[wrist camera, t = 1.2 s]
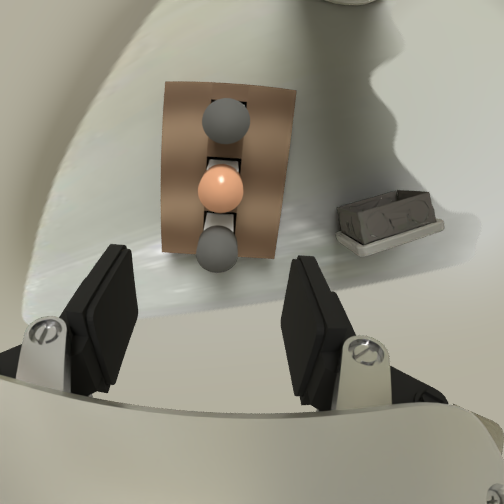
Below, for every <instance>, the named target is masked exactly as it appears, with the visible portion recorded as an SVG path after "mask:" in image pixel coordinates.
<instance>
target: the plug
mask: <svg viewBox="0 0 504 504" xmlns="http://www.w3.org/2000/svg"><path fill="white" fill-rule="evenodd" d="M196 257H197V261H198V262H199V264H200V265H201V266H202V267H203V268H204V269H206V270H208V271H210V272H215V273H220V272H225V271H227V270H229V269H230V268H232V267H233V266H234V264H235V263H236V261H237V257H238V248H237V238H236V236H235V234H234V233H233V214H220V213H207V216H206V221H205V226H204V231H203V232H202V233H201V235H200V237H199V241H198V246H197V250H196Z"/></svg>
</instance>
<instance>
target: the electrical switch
mask: <svg viewBox="0 0 504 504" xmlns="http://www.w3.org/2000/svg"><path fill="white" fill-rule="evenodd" d="M397 193H398V195H397ZM381 198H382V199H381ZM398 198H399V199H398ZM391 200H392V201H391ZM377 205H378V206H377ZM356 206H359V207H356ZM350 207H351V208H350ZM362 209H363V210H364V211H363V210H362ZM337 211H338V214H339V222H340V225H341V230H342V231H338V232H337V233H335V234H336V237H337V240H338V241H339V242H340V243H341V244H343V245H344V246H346V247H347V248H348V249H350V250H351V251H352V252H354V253H355V254H357V255H358V256H368V255H371V254H374V253H377V252H381V251H384V250H387V249H390V248H393V247H396V246H399V245H402V244H405V243H408V242H411V241H414V240H417V239H420V238H423V237H425V236H428V235H431V234H434V233H437V232H440V231H443V230H444V221H443V220H441V219H436V218H435V213H434V209H433V206H432V203H431V198H430V194H429V192H421V191H404V190H397V191H393V192H389V193H386V194H382V195H379V196H375V197H372V198H368V199H365V200H361V201H358V202H354V203H351V204H347V205H344V206H340V207H337Z"/></svg>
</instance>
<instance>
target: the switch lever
mask: <svg viewBox="0 0 504 504" xmlns="http://www.w3.org/2000/svg"><path fill="white" fill-rule="evenodd" d="M202 126H203V129H204V132H205V133H206V135H207V136H208V137H209V138H210V139H211V140H213V141H215V142H217V143H220V144H231V143H235V142H237V141H239V140H240V139H242V138H243V137H244V136H245V134H246V133H247V131H248V129H249V126H250V115H249V112H248V110H247V109H246V107H245V105H243V104H242V103H241V102H239V101H237V100H235V99H231V98H222V99H218V100H216V101H214V102H212V103H211V104H210V105H209V106H208V107H207V108H206V110H205V111H204V114H203V117H202Z"/></svg>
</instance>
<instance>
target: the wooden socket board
mask: <svg viewBox="0 0 504 504" xmlns="http://www.w3.org/2000/svg"><path fill="white" fill-rule="evenodd" d="M222 98H231V99H235V100H237V101H239V102H245V107H246V109H247V110H248V112H249V115H250V126H249V129H248V131H247V133H246V134H245V136H244V137H243V138H242V139H240V140H239V141H237V142H235V143H231V144H220V143H217V142H215V141H213V140H211V139H210V138H209V137H208V136H207V135H206V133H205V132H204V129H203V126H202V117H203V114H204V111H205V110H206V108H207V107H208V106H209V105H210V104H211V103H212V102H214V100H218V99H222ZM295 99H296V90H289V89H282V88H274V87H265V86H256V85H245V84H232V83H215V82H165V93H164V107H163V125H162V150H161V239H162V252H168V253H185V254H196V250H197V246H198V241H199V237H200V235H201V233H202V232H203V231H204V226H205V221H206V213H207V211H210V210H208V209H207V208H206V207H204V206H203V204H202V203H201V201H200V199H199V196H198V187H199V183H200V181H201V178H202V176H203V174H204V173H205V171H206V170H207V166H208V164H209V159H210V157H226V158H240V164H239V174H240V175H241V178H242V183H243V197H242V200H241V202H240V203H239V205H238V206H237V207H236V208H234V209H233V210H231V211H229V212H234V213H235V223H234V226H233V233H234V234H235V236H236V238H237V248H238V257H251V258H268V259H274V257H275V250H276V243H277V237H278V230H279V223H280V215H281V208H282V201H283V194H284V186H285V179H286V171H287V164H288V156H289V148H290V140H291V132H292V124H293V116H294V108H295Z"/></svg>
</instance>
